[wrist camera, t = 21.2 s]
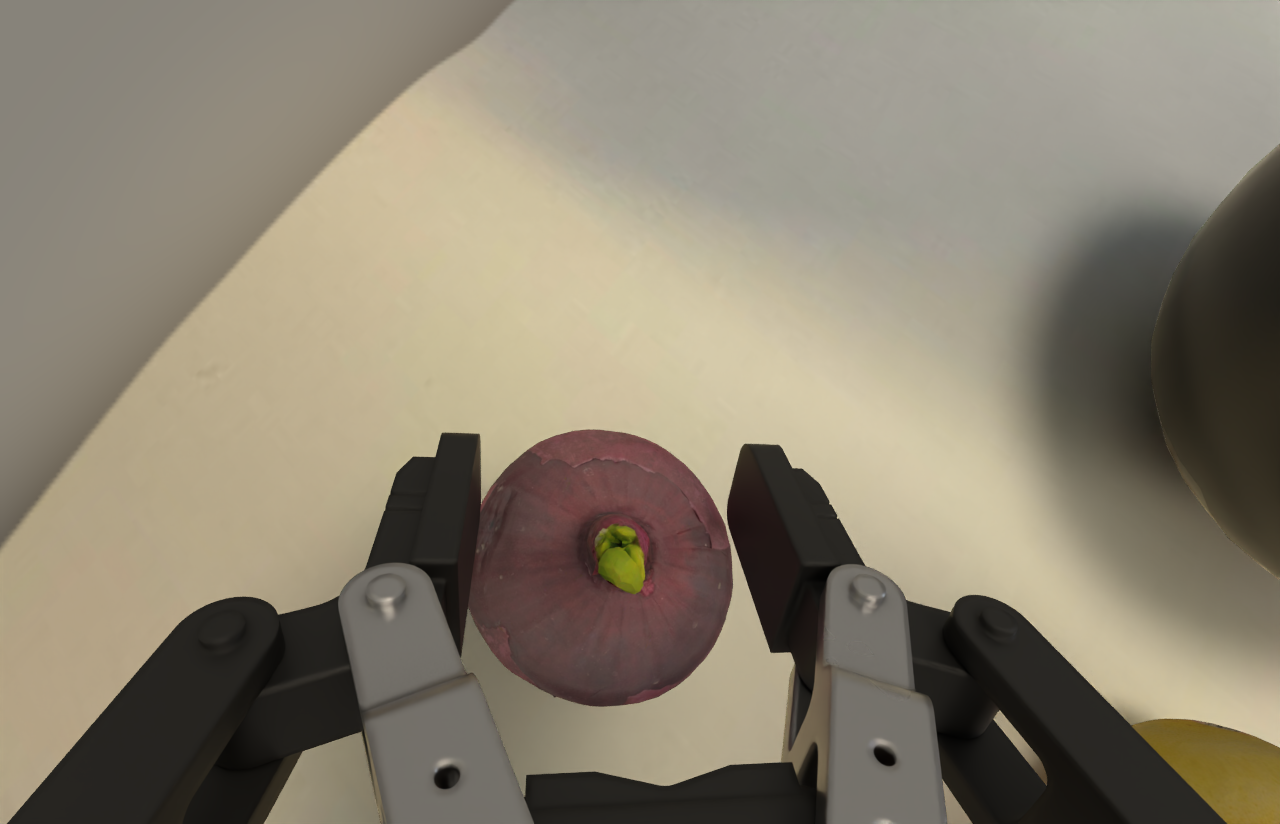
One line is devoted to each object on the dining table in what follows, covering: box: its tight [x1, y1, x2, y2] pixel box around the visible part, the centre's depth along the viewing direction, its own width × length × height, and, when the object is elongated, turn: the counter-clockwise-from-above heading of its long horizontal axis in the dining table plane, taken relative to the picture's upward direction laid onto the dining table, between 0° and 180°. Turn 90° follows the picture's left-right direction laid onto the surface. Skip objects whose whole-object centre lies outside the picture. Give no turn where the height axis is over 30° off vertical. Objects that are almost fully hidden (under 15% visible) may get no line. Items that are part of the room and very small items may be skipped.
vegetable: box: [468, 430, 733, 707], centre depth 14 cm, size 6×6×10 cm
